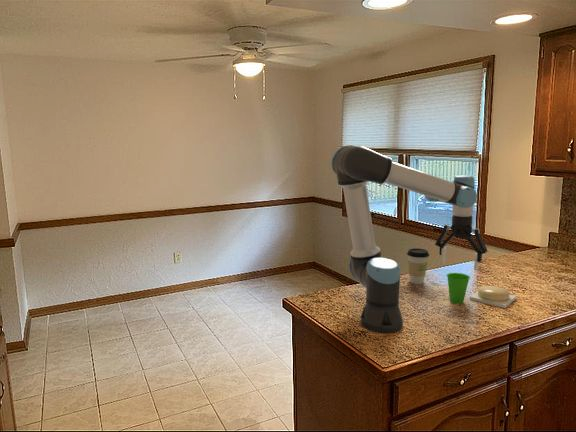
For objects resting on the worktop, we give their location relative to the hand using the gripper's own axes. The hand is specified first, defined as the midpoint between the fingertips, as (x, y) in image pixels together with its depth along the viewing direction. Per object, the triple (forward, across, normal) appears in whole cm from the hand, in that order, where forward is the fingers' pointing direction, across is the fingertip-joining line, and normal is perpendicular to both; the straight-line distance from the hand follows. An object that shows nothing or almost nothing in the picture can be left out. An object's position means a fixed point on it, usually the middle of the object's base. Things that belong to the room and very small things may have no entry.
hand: (459, 266), depth 180 cm
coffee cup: (+15, +24, -12) cm, 31 cm away
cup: (+15, 0, 0) cm, 15 cm away
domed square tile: (+15, -10, -13) cm, 22 cm away
